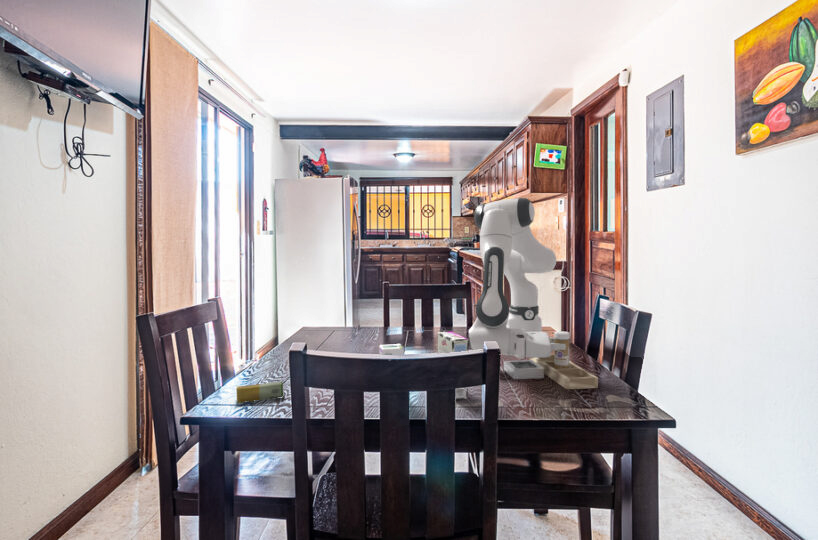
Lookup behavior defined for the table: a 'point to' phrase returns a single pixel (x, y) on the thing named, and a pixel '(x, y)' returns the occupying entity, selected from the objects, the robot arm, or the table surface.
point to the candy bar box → (453, 344)
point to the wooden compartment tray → (567, 374)
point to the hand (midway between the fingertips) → (564, 344)
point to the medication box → (259, 391)
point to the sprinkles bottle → (562, 355)
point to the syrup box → (391, 349)
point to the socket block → (523, 369)
